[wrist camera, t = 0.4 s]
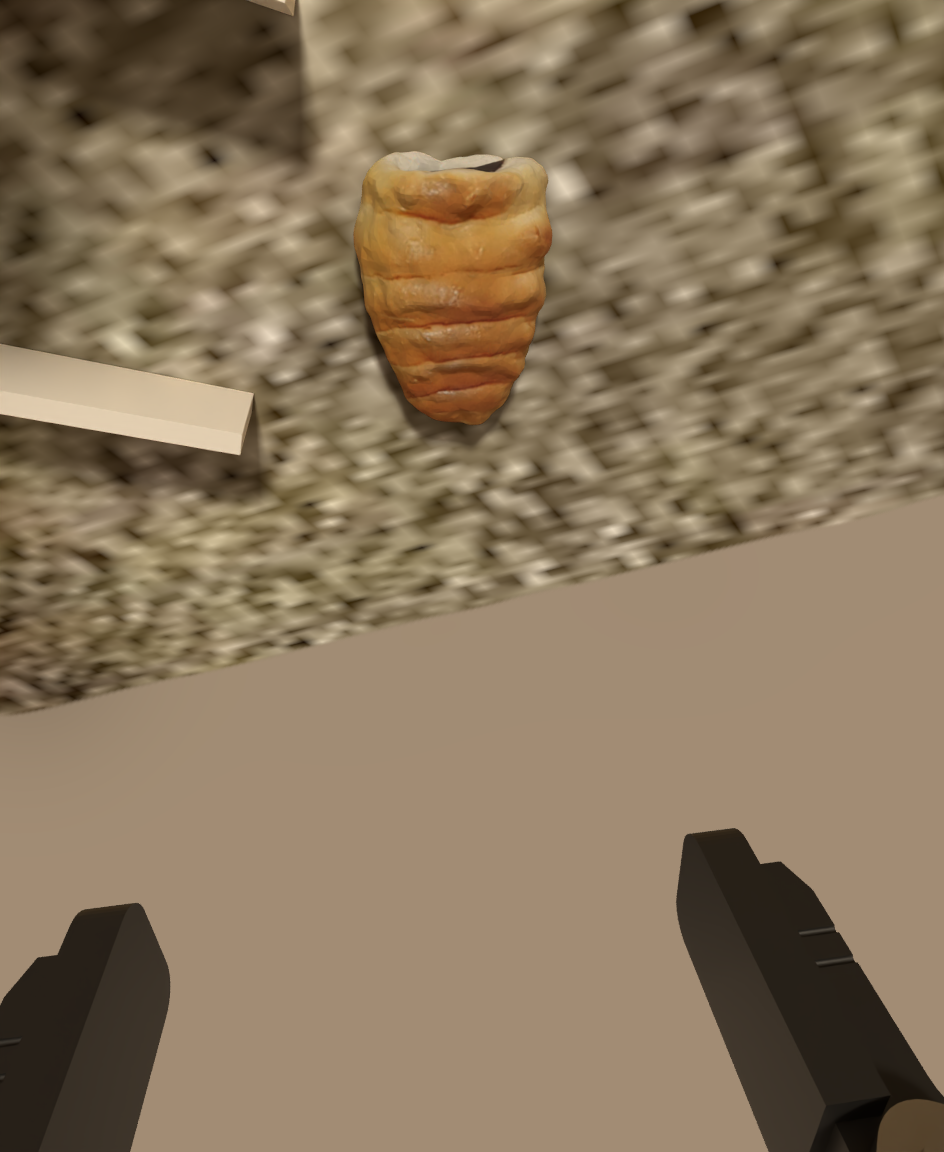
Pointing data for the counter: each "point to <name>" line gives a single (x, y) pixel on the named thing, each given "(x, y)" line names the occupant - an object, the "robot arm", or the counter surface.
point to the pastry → (454, 275)
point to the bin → (125, 391)
